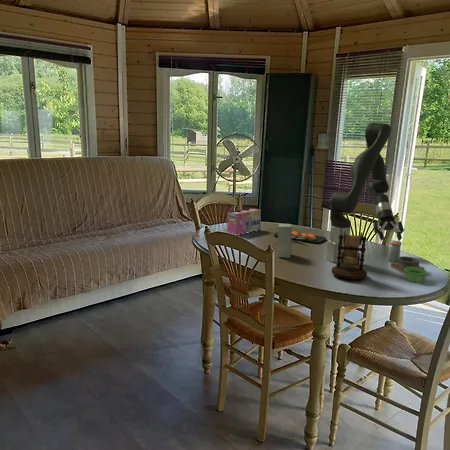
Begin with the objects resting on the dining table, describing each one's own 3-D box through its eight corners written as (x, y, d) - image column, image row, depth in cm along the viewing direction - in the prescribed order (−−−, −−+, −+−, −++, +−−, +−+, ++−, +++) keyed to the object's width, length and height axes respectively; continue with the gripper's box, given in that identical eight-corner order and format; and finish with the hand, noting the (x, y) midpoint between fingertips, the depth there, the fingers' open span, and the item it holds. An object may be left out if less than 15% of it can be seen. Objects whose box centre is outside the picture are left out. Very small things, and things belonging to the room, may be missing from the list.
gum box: (252, 228, 263) (253, 207, 260) (262, 230, 257) (263, 209, 254) (226, 233, 246) (227, 211, 243) (236, 236, 240) (237, 213, 237)
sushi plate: (327, 240, 239) (327, 234, 238) (308, 251, 214) (309, 244, 213) (282, 233, 254) (282, 227, 253) (259, 242, 229) (259, 236, 228)
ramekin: (428, 279, 175) (430, 270, 174) (422, 285, 169) (423, 275, 168) (407, 274, 181) (408, 265, 180) (400, 279, 174) (401, 269, 174)
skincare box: (290, 258, 200) (292, 227, 196) (275, 257, 201) (277, 226, 198) (291, 253, 208) (293, 223, 204) (277, 252, 209) (279, 222, 206)
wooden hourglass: (364, 272, 182) (369, 229, 178) (368, 284, 168) (373, 237, 164) (330, 269, 185) (334, 226, 181) (331, 280, 171) (335, 234, 167)
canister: (392, 263, 196) (395, 243, 194) (385, 260, 201) (387, 240, 199) (401, 262, 198) (404, 242, 196) (393, 259, 203) (396, 240, 201)
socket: (406, 274, 181) (407, 263, 180) (390, 267, 190) (391, 257, 189) (423, 272, 185) (425, 261, 184) (407, 265, 194) (408, 255, 193)
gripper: (373, 208, 208) (379, 235, 199) (401, 208, 208) (408, 236, 199) (368, 216, 214) (374, 243, 205) (395, 217, 214) (402, 243, 206)
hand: (391, 239), depth 202 cm, fingers open, 8 cm apart
